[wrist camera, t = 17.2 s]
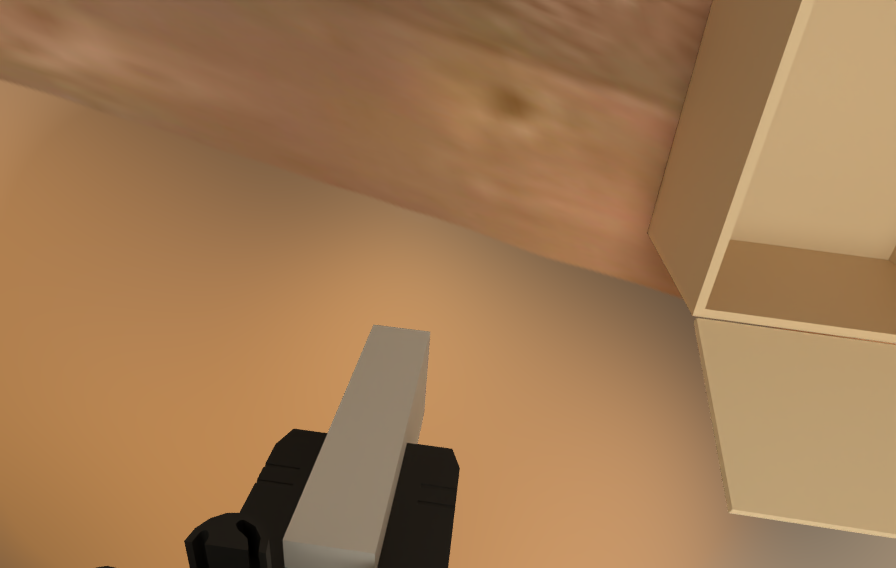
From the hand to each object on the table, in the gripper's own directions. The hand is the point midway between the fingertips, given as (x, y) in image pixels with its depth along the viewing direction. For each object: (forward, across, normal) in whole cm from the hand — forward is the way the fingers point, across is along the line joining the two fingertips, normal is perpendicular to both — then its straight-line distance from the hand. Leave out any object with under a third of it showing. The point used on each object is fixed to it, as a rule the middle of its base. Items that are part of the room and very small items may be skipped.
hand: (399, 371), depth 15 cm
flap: (+14, +25, -11) cm, 31 cm away
